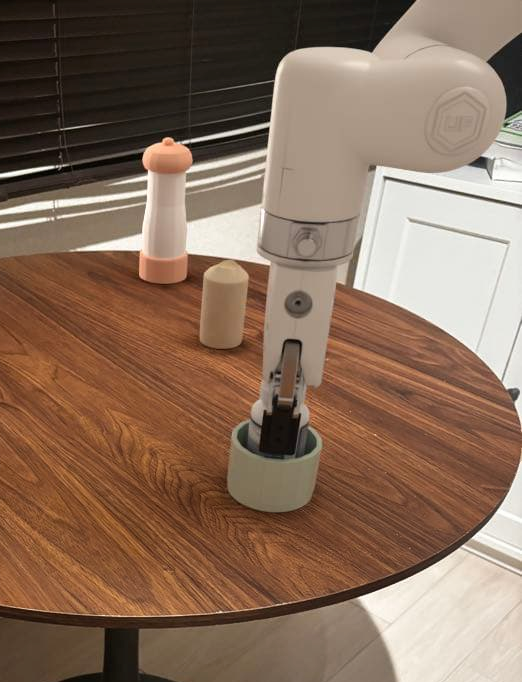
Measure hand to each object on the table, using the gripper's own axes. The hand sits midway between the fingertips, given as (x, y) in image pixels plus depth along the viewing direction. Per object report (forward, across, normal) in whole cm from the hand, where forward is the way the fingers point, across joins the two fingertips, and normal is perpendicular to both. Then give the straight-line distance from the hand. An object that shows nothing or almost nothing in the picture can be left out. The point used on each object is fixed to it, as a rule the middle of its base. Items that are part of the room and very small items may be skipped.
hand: (278, 433), depth 74 cm
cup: (+6, 0, 0) cm, 6 cm away
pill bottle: (+4, 0, 0) cm, 4 cm away
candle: (+6, +33, +8) cm, 35 cm away
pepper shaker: (+6, +55, +19) cm, 59 cm away
